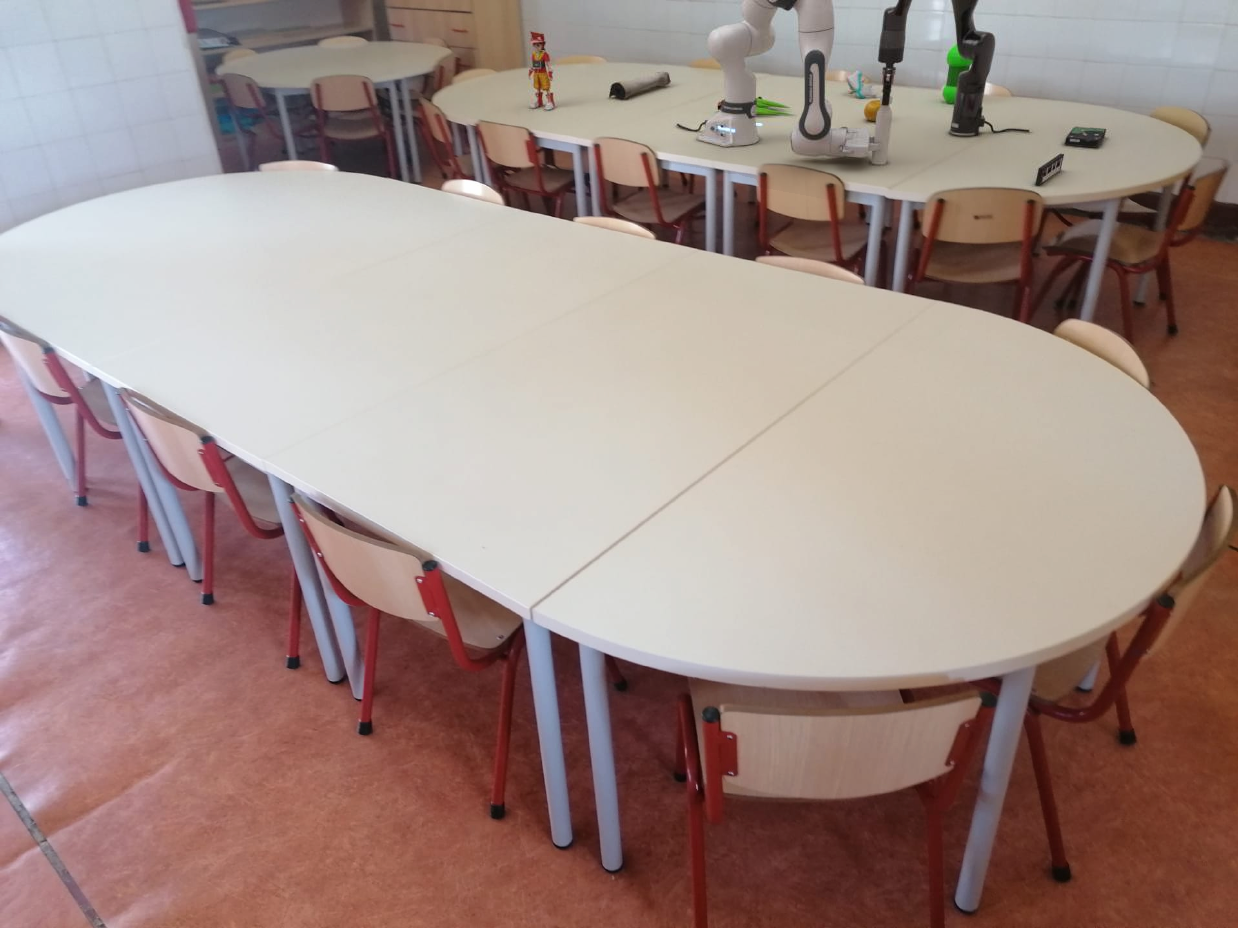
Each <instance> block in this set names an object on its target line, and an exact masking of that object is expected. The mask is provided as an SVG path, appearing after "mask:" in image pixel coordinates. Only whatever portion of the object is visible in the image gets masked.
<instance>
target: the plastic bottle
mask: <svg viewBox="0 0 1238 928" xmlns="http://www.w3.org/2000/svg"><path fill="white" fill-rule="evenodd" d="M972 62H973V61H972V60H966V59H963V58H961V57H960V55H959V53H958V49H957V43H956V44H954V45H953V46H952V47H951V48H950V49H949V50H948V52H947V54H946V63H947V64H948V69H947V70H948V71H947V76H946V77H947V78H946V84H945V85H944V87H943V90H942V97H943V99H944V100H945V101H946V102H947V103H948V104H954V103H955V96H956V90H957V83H958V77H959V74H960V73H961V72H963V71H967V70H969V69H970V68H971V66H972Z"/></svg>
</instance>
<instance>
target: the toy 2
mask: <svg viewBox="0 0 1238 928" xmlns="http://www.w3.org/2000/svg"><path fill="white" fill-rule="evenodd" d="M756 99H757V112H756V115H788V116H789V115H790V116H791V115H794V114H793V113H788V112H783V111H776V110H773V109H769V108H780V109H790V106H786V105H785V104H782V103H779V102H777V101H776V102H775V101H772V100H768V99H763V98H762V96H758V97H756ZM719 104H720V103H719V102H717V108H716V109H717V111H720V108H721V105H720V106H718V105H719Z"/></svg>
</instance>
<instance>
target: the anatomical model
mask: <svg viewBox="0 0 1238 928" xmlns="http://www.w3.org/2000/svg"><path fill="white" fill-rule="evenodd" d="M862 77H863V74H862V72H860V71H859V70H858V69H856V70H854V72H853V74H851V75H848V76H846V82H847V85H848V86H849V90H850V91H853V92H856V94H857V96H858V97H859V98H860V99H866V97H876V96H877V95H878V93H877V92H873V91H872V88H873V86H874V85H875V83H873V82H871V83H869V84H867V85H864V82H865V81H866V77H864V78H862Z"/></svg>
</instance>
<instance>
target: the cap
mask: <svg viewBox="0 0 1238 928" xmlns="http://www.w3.org/2000/svg"><path fill="white" fill-rule="evenodd" d="M882 97H883V95H881V96H880V98H879V100H880V104H882ZM889 104H890V105H891V104H893V96H891V95H890V99H889Z"/></svg>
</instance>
